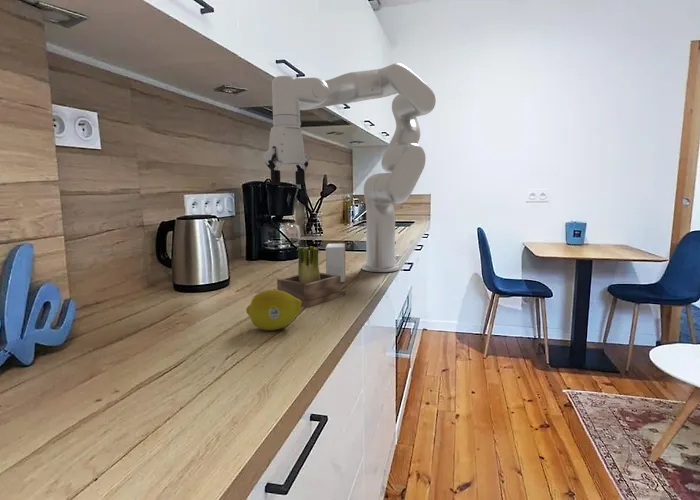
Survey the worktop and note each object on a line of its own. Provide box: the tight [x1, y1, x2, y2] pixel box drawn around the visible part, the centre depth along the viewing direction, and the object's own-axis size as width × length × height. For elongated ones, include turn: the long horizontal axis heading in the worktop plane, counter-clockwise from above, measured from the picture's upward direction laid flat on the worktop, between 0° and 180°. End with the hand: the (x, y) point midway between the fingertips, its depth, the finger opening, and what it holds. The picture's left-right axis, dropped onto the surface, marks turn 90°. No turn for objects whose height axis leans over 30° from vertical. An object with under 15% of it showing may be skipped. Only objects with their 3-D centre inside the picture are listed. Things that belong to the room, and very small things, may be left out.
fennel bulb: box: [297, 246, 321, 283], centre depth 108 cm, size 6×5×12 cm
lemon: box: [246, 289, 302, 331], centre depth 85 cm, size 11×8×8 cm
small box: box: [325, 243, 346, 283], centre depth 128 cm, size 8×6×10 cm
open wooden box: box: [276, 272, 346, 308], centre depth 109 cm, size 14×12×5 cm
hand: (288, 184), depth 123 cm, fingers open, 9 cm apart
